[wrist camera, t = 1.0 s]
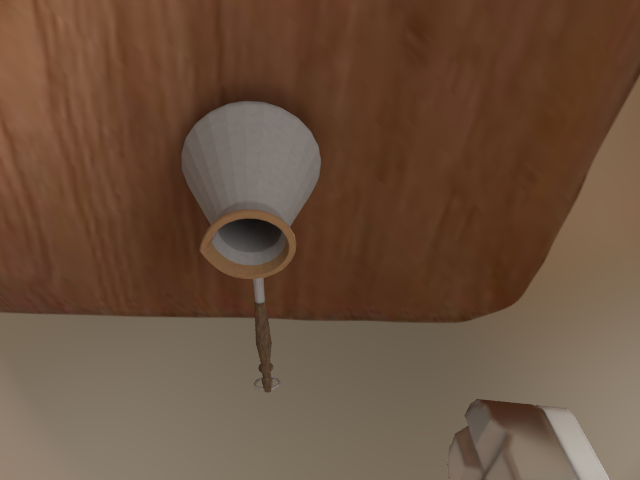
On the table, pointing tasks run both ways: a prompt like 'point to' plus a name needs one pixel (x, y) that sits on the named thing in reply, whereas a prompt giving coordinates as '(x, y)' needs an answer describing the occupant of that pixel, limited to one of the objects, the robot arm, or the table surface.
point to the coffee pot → (251, 195)
